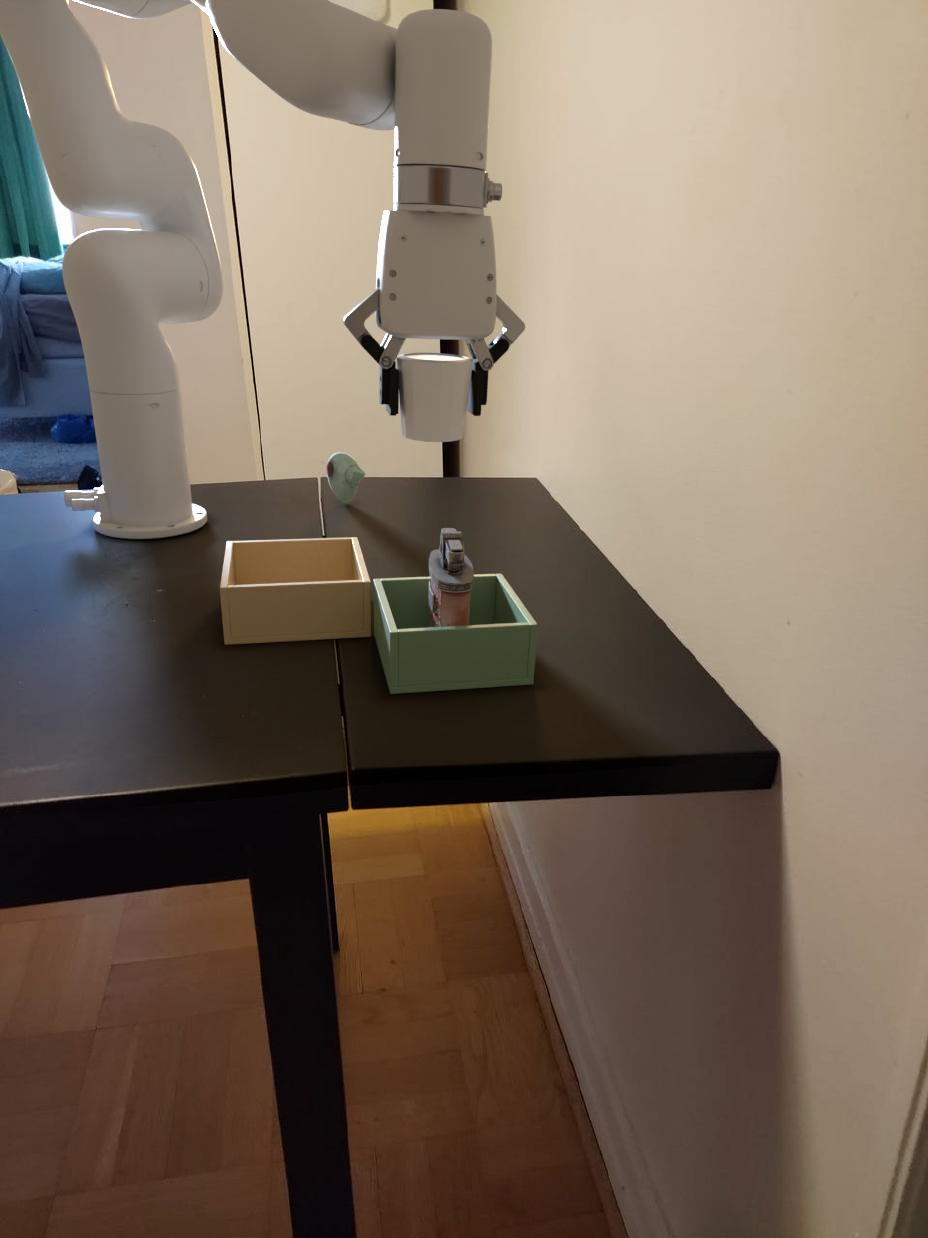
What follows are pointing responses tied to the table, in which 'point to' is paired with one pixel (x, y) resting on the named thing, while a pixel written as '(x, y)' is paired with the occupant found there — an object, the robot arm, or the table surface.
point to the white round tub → (433, 395)
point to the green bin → (453, 638)
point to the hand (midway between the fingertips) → (432, 411)
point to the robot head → (344, 476)
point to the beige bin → (294, 590)
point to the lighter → (450, 581)
